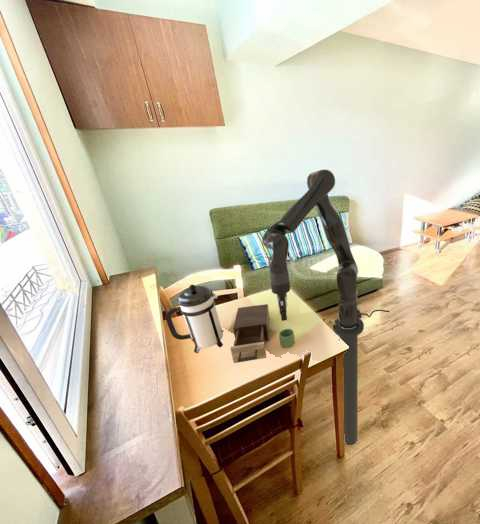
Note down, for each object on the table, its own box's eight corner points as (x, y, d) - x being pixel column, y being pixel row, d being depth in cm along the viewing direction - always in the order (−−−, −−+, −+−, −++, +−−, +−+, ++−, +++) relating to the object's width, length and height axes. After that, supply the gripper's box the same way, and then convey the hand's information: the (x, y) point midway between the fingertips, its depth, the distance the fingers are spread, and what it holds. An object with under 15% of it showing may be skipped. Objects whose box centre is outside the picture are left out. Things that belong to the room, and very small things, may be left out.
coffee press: (211, 326, 133) (194, 271, 119) (234, 337, 126) (220, 280, 112) (176, 349, 120) (153, 291, 106) (200, 363, 113) (179, 303, 99)
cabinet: (269, 340, 125) (266, 323, 121) (236, 345, 122) (232, 328, 118) (270, 319, 140) (267, 304, 136) (241, 323, 137) (238, 307, 133)
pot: (294, 337, 127) (293, 327, 125) (295, 346, 121) (293, 336, 119) (280, 339, 125) (279, 329, 123) (280, 348, 120) (279, 338, 118)
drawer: (265, 366, 109) (263, 351, 106) (231, 372, 106) (228, 357, 103) (267, 334, 127) (265, 321, 124) (238, 339, 125) (235, 325, 122)
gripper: (270, 273, 117) (275, 307, 123) (269, 289, 104) (274, 326, 110) (288, 271, 118) (292, 305, 125) (290, 287, 105) (294, 323, 112)
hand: (284, 314), depth 117 cm, fingers open, 7 cm apart
